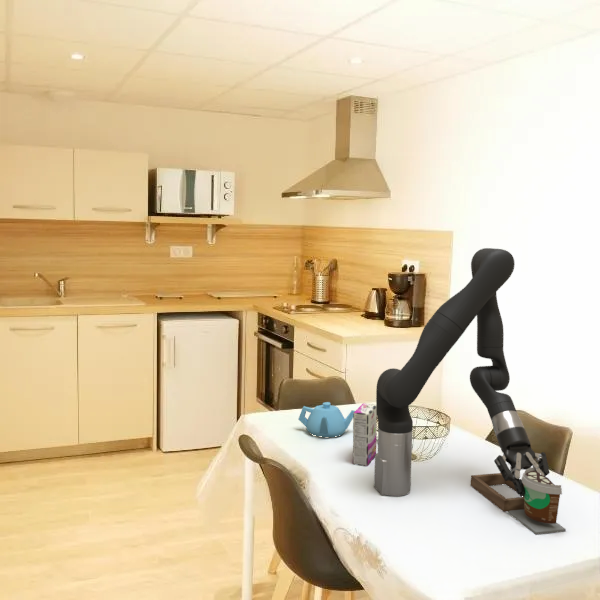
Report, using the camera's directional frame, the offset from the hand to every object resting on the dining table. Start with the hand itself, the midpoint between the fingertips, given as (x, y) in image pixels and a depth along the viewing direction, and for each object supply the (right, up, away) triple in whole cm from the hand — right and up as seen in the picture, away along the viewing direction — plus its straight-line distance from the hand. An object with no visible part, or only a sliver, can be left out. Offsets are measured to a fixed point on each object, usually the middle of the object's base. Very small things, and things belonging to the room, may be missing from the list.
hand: (534, 494), depth 162 cm
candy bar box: (-38, -2, +41) cm, 56 cm away
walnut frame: (-3, -5, +15) cm, 16 cm away
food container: (0, -5, -1) cm, 5 cm away
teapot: (-49, +1, +67) cm, 83 cm away
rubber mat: (0, -7, -1) cm, 7 cm away
